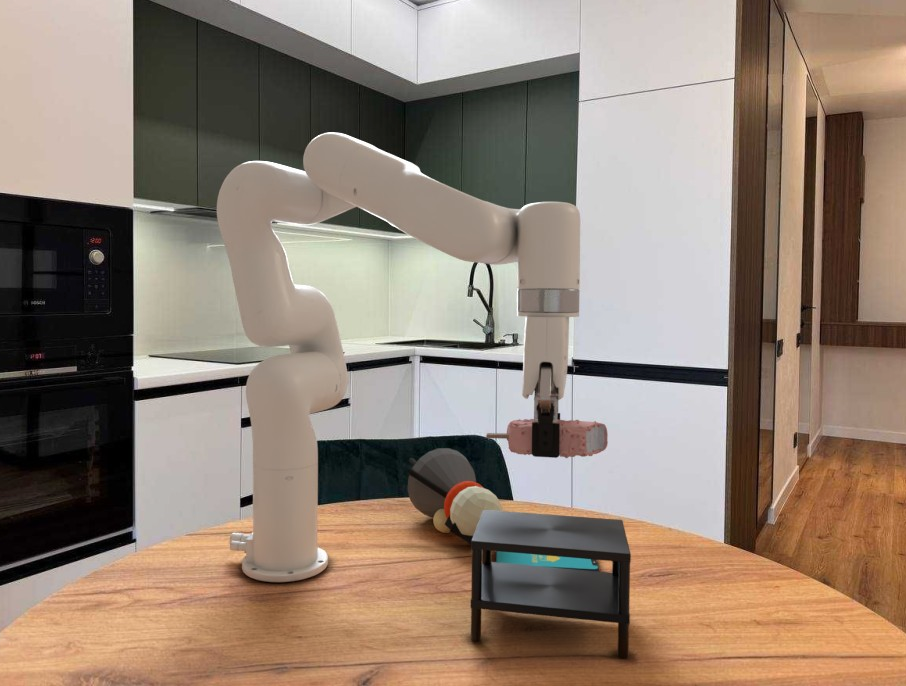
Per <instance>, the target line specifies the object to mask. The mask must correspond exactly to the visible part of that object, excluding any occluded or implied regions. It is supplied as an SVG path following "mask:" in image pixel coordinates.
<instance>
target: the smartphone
mask: <svg viewBox="0 0 906 686" xmlns="http://www.w3.org/2000/svg"><path fill="white" fill-rule="evenodd" d="M495 562H497V563H508V564H520V565H531V566H542V567H553V568H565V569H576V570H587V571H598V572H600V569H599V567H600V566H599V565H598V562H597V560H594V559H582V558H571V557H559V556H547V555H536V554H524V553H512V552H501V551H495Z"/></svg>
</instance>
